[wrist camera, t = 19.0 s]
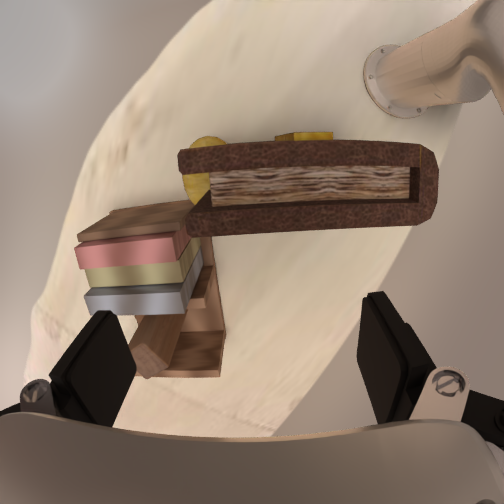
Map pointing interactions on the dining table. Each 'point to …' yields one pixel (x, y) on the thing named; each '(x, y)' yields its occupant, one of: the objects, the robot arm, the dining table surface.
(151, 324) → the wooden block
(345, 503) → the robot arm
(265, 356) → the dining table surface
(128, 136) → the dining table surface
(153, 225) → the book rack
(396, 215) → the book
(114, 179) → the dining table surface
